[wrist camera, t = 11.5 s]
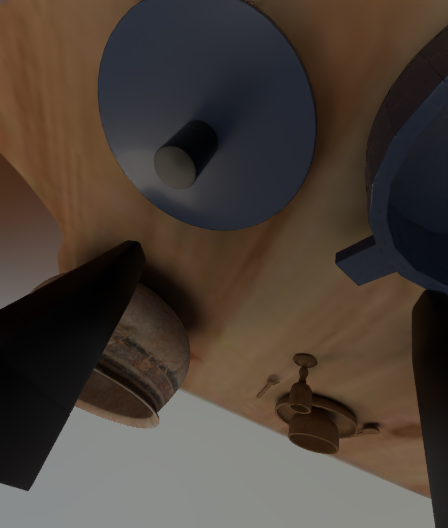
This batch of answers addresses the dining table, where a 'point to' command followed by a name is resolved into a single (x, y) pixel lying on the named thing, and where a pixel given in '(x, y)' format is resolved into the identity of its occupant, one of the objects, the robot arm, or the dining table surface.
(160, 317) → the cooking pot
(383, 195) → the saucepan
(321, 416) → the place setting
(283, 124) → the lid
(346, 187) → the dining table surface
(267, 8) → the dining table surface
